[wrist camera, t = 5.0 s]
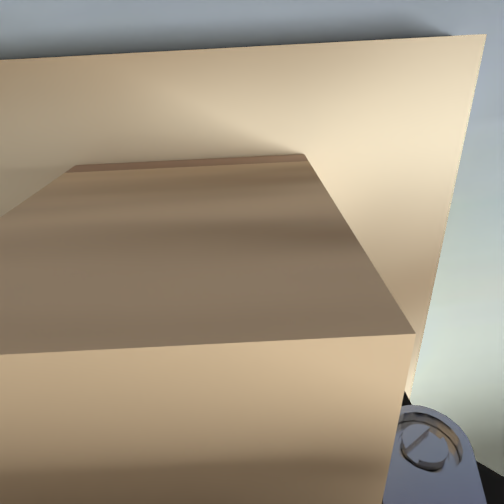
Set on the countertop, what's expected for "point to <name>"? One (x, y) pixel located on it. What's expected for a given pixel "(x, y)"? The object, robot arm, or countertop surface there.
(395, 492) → the robot arm
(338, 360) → the block
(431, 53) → the board
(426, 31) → the countertop surface
